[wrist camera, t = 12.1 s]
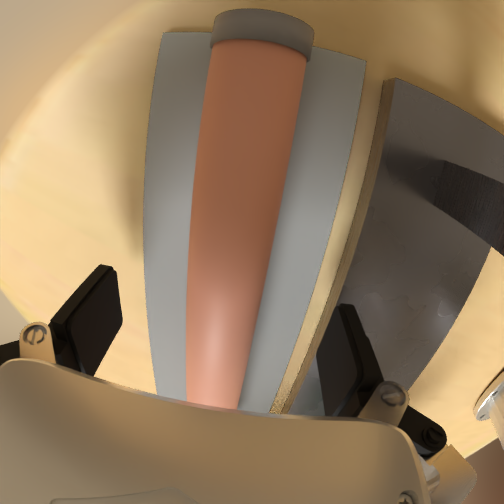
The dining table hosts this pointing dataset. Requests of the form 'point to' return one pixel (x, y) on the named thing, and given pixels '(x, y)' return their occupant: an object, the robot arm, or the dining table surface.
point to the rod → (239, 191)
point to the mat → (289, 220)
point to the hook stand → (414, 235)
